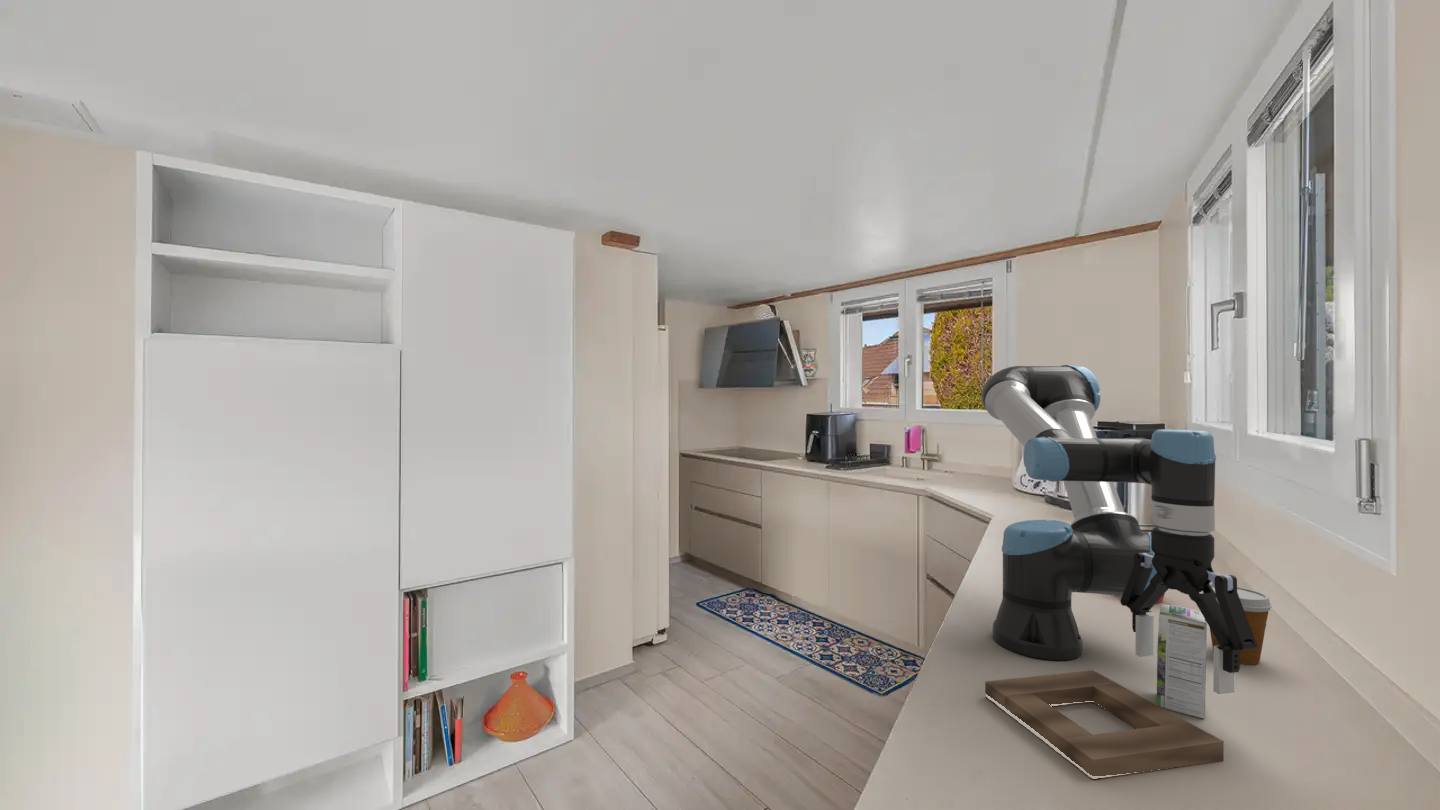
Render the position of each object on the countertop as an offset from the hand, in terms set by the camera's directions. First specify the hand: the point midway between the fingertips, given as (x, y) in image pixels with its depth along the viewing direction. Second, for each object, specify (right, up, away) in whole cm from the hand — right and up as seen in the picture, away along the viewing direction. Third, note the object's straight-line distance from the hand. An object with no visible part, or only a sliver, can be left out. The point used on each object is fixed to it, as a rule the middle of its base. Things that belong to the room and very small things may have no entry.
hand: (1181, 672), depth 86 cm
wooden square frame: (-17, -5, -5) cm, 19 cm away
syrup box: (0, -5, 0) cm, 5 cm away
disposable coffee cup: (+24, -6, +17) cm, 30 cm away
